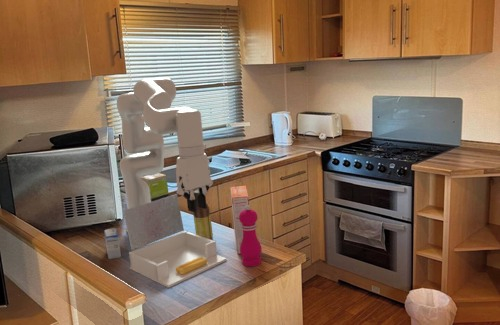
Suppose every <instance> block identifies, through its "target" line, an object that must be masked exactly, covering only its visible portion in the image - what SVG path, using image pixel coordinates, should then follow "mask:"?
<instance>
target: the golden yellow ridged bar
mask: <svg viewBox="0 0 500 325" xmlns="http://www.w3.org/2000/svg"><path fill="white" fill-rule="evenodd" d="M205 264H207V259H205V258H204V259H203V258H202V257H199V258H196V259H194V260H192V261H189V262H187V263H185V264H183V265H180V266H178V267H177V268H176V272H177V273H180V274H185V273H188V272H190V271H192V270H194V269H196V268H198V267H201V266H203V265H205Z"/></svg>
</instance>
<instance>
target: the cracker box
mask: <svg viewBox="0 0 500 325" xmlns="http://www.w3.org/2000/svg"><path fill="white" fill-rule="evenodd" d="M230 197H231V198H230V199H231V209H232V210H231V211H232V220H233V222H232V223H233V228H234V229H233V230H234V240H235V246H236V247H235V248H236V252H237V255H241V254H240V245H241V242H242V239H243V230H242V229H241V227H242V226H241V224H242V223H241V222H240V220H239V215H240V213H241V212H242V211H243V210H245V206H246V205H249V206H250V202H249V200H250V199H249V195H248V189H247V186H246V185H239V186H236V185H235V186H231V187H230Z"/></svg>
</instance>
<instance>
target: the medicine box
mask: <svg viewBox="0 0 500 325" xmlns="http://www.w3.org/2000/svg"><path fill="white" fill-rule="evenodd" d="M103 233H104V239H105V247H106V253H107V258H108V259H109V260H112V259H117V258H121V256H122V253H121V252H122V251H121V245H120V239H119V233H118V230H117V228H114V227H113V228H108V229H105V230H103Z"/></svg>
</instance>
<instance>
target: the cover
mask: <svg viewBox="0 0 500 325" xmlns="http://www.w3.org/2000/svg"><path fill="white" fill-rule="evenodd" d="M180 207H181V206H180V203H179V198H178V194H177V193H176V194H171V195H169V197H165V198H162V199H159V200H156V201H153V202H149V203H146V204H143V205H140V206H136V207H133V208H130V209H128V208H127V209H124V210H123V216H124V222H125V225H126V232H127V231H128V232H127V234H128V235H127V236H128V240H129V244H130V245H129V246H130V250H131V251H134V250H137V249H139V248H142V247H145V246H147V245H150V244H152V243H155V242H158V241H160V240H163V239H166V238H168V237H171V236H173V235H176V234H179V233H181V232H184V231H185V230H184V229H185V228H184V223H183V220H182V213H181V209H180Z"/></svg>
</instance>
